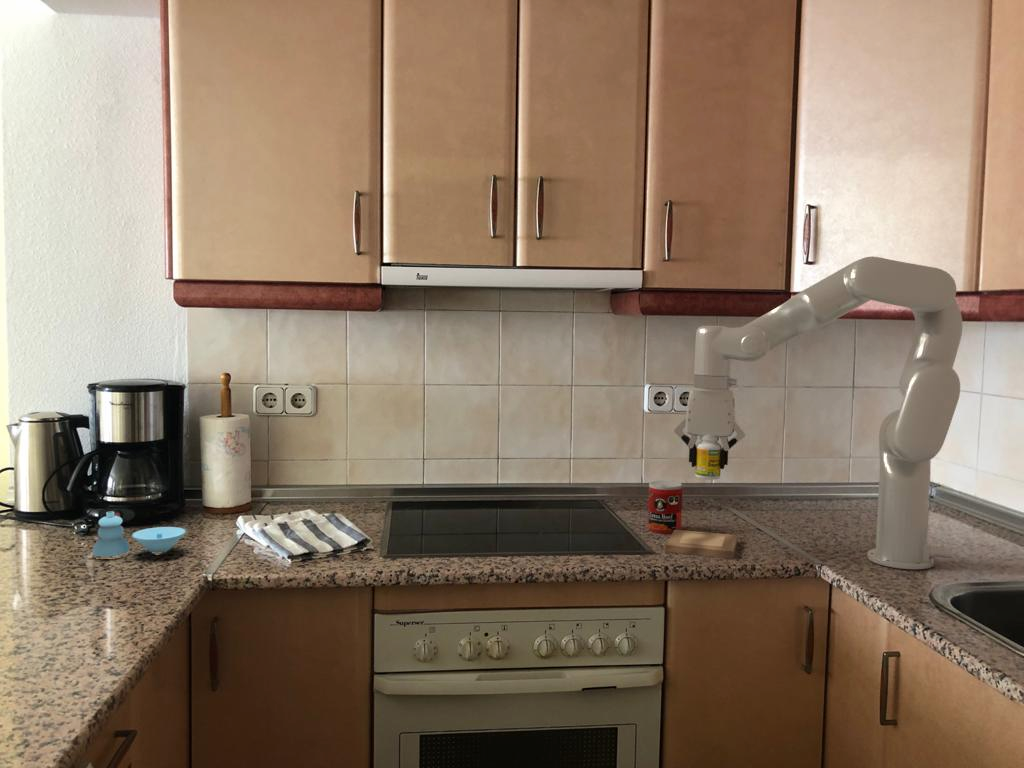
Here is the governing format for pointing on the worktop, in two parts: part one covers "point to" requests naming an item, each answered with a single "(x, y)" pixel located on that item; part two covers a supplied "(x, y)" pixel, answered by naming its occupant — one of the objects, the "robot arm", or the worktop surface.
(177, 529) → the light blue rounded pieces
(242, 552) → the worktop surface
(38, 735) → the worktop surface
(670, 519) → the canned food
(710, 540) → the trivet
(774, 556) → the worktop surface
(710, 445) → the supplement bottle
